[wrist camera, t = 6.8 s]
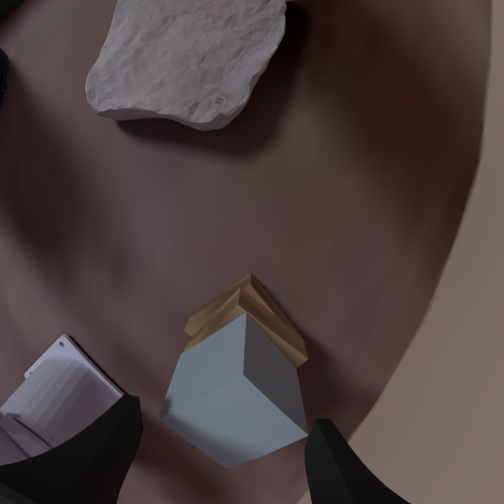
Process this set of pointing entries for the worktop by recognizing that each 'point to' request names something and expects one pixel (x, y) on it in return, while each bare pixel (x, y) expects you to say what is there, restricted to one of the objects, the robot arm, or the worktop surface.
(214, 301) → the tower bottom slab
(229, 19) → the stone block
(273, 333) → the tower top slab
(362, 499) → the robot arm
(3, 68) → the storage jar
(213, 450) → the blue block
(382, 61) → the worktop surface
